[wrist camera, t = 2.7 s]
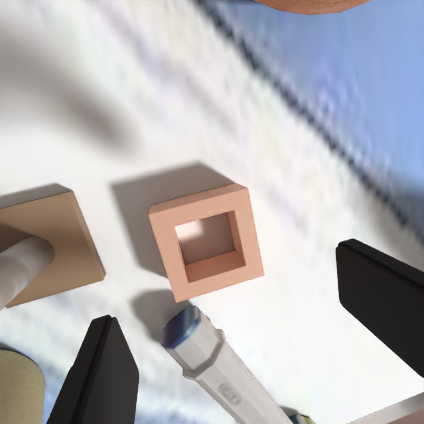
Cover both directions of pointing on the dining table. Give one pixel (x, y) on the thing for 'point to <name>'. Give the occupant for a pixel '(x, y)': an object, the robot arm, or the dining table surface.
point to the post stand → (45, 250)
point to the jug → (312, 5)
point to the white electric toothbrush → (221, 370)
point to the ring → (218, 265)
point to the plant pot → (20, 389)
